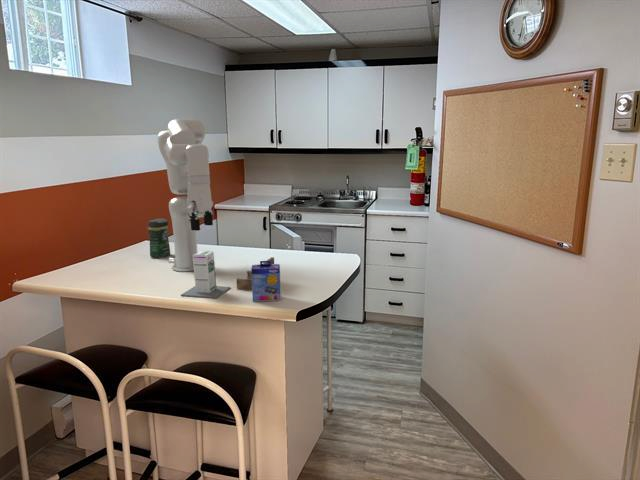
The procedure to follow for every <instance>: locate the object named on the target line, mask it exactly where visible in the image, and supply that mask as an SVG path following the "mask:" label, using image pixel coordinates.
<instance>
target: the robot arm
mask: <svg viewBox="0 0 640 480" xmlns="http://www.w3.org/2000/svg"><path fill="white" fill-rule="evenodd" d="M205 136H206V127H205V125H204V122H203V121H202V120H201V119H198V118H175V119H173V120H171V121H170V122H169V123H168V126H167V130H162V131H160V132H159V133H158V135H157V145H158V149H159V152H160V155H161V156H162V158H163V160H164V163H165V165H166V172H167V179H168V185H169V189H170V192H171V193H172V194H174V195H183V196H176V197H174V198H171V199H170V200H169V202H168V210H169V214H170V218H171V219H170V220H171V225H172V233H173V234H172V235H173V242H174V243H173V245H174V257H169V258H168V264H173V265H172V270H173V271H175V272H192V271H193V272H194V265H193V255H195V254H197V253H198V243H197V242H198V240H197V231H201V223H200V219H199V218H203V222H204V223H203V224H204V226H213V225H214V223H213V214H214V212H213V210H214V201H213V200H212V192H211V191H212V190H211V186H210V185H211V178H210V177H211V176H210V165H209V157H210V155H209V149H208V147H207V146H206V145H205V144H203V142H204V139H205ZM184 195H186V196H184Z"/></svg>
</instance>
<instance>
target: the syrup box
mask: <svg viewBox="0 0 640 480" xmlns="http://www.w3.org/2000/svg"><path fill="white" fill-rule="evenodd" d="M193 265H194V270H193V274H194V283H195V285H194V286H196V292H198V293H211V292H212V291H213V290H215V289H216V288H217V287H216V286H217V279H216V278H217V277H216V266H215V254H214V251H209V250H208V251H207V250H205V251H204V250H202V251H201V250H200V251H199V252H197V254H195V255H193Z"/></svg>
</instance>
